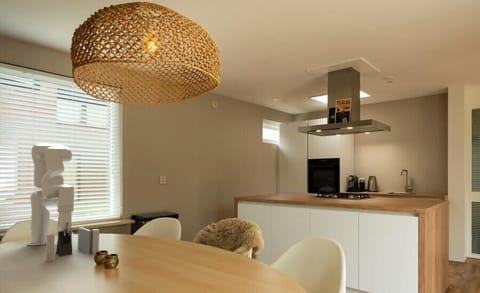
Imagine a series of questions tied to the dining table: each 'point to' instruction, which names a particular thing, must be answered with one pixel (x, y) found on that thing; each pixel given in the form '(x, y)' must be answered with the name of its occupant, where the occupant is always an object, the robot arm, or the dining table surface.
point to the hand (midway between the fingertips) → (64, 241)
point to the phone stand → (63, 245)
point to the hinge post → (95, 241)
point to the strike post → (50, 247)
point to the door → (84, 240)
